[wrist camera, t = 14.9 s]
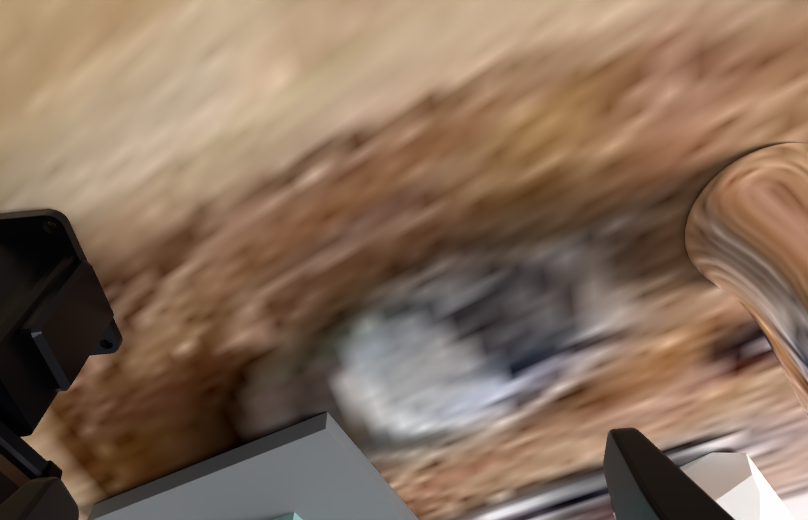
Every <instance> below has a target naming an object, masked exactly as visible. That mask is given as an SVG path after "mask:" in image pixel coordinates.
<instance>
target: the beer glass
mask: <svg viewBox="0 0 808 520" xmlns="http://www.w3.org/2000/svg"><path fill="white" fill-rule="evenodd" d="M685 245H686V250H687V253H688V255H689V258H690V260H691V262H692V263H693V265H694V266H695V267H696V268H697V269H698V271H699V272H700V273H701V274H702V275H704V276H705V277H706V278H707V279H708V280H710V281H711V282H712V283H714V284H715V285H716V286H718V287H719V288H721V289H722V290H723V291H725V292H726V293H727V294H729V295H730V296H732V297H733V298H734V299H735V300H736V301H738V302H739V303H740V304H741V305H742V306H743V307H744V308H745V309H746V310H747V311H748V313H749V314H750V315H751V316H752V318H753V319H754V320H755V322H756V323H757V325H758V326H759V327H760V329H761V330H762V332H763V334H764V336H765V338H766V339H767V341H768V343H769V345H770V346H771V348H772V350H773V352H774V354H775V356H776V358H777V360H778V362H779V364H780V366H781V368H782V370H783V372H784V374H785V375H786V377H787V379H788V381H789V383H790V385H791V387H792V389H793V391H794V393H795V395H796V397H797V398H798V400H799V402H800V404H801V406H802V408H803V410H804V412H805V414H806V415H807V417H808V144H807V143H783V144H777V145H772V146H768V147H765V148H762V149H759V150H756V151H754V152H751V153H749V154H747V155H745V156H743V157H741V158H740V159H738V160H736V161H735V162H733V163H732V164H730V165H729V166H727V167H726V168H725V169H723V170H722V171H721V172H720V173H719V174H717V175H716V176H715V177H714V178H713V179H712V180H711V181H710V182H709V183H708V184H707V186H706V187H705V188H704V189H703V191H702V192H701V193H700V195H699V196H698V198H697V199H696V201H695V203H694V204H693V206H692V208H691V211H690V213H689V216H688V219H687V222H686V227H685Z"/></svg>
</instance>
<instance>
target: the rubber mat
mask: <svg viewBox="0 0 808 520" xmlns="http://www.w3.org/2000/svg"><path fill="white" fill-rule="evenodd" d="M292 512H295V513H296V514H297V515H298V516H299V517H300V518H301V519H302V520H419V519H418V518H417V517H416V516H415V514H414V513H413V512H412V511H411V510H410V509H409V507H408V506H407V505H406V504H405V503H404V502H403V500H402V499H401V498H400V497H399V496H398V494H397V493H396V492H395V491H394V490H393V489H392V487H391V486H390V485H389V484H388V483H387V482H386V480H385V479H384V478H383V477H382V476H381V474H380V473H379V472H378V471H377V470H376V469H375V467H374V466H373V465H372V464H371V463H370V462H369V460H368V459H367V458H366V457H365V456H364V454H363V453H362V452H361V451H360V450H359V449H358V447H357V446H356V445H355V444H354V443H353V442H352V440H351V439H350V438H349V437H348V436H347V434H346V433H345V432H344V431H343V430H342V429H341V427H340V426H339V425H338V424H337V423H336V422H335V420H334V419H333V418H332V417H331V416H330V414H329V413H328V412H326V413H324V414H321V415H319V416H316V417H314V418H311V419H309V420H306V421H303V422H301V423H298V424H296V425H293V426H291V427H288V428H286V429H283V430H281V431H278V432H276V433H273V434H271V435H268V436H266V437H263V438H261V439H258V440H256V441H253V442H251V443H248V444H246V445H243V446H241V447H238V448H236V449H233V450H231V451H228V452H226V453H223V454H220V455H218V456H215V457H213V458H210V459H208V460H205V461H203V462H200V463H198V464H195V465H193V466H190V467H188V468H185V469H183V470H180V471H178V472H175V473H173V474H170V475H168V476H165V477H163V478H160V479H158V480H155V481H153V482H150V483H148V484H145V485H143V486H140V487H137V488H135V489H132V490H130V491H127V492H125V493H122V494H120V495H117V496H115V497H112V498H110V499H107V500H105V501H102V502H100V503H97V504H95V505H94V507H93V510H92V512H91V514H90V516H89V518H88V520H273V519H276V518H279V517H281V516H284V515H287V514H290V513H292Z"/></svg>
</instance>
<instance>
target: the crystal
mask: <svg viewBox="0 0 808 520" xmlns="http://www.w3.org/2000/svg"><path fill="white" fill-rule="evenodd" d="M679 468H680V469H681V470H682V471H683V472H684V473H685V474H686V475H687V476H688V477H690V478H691V479H692V480H693V481H694V482H695V483H696V484H697V485H698V486H699V487H700V488H701V489H703V490H704V491H705V492H706V493H707V494H708V495H709V496H710V497H711V498H712V499H713V500H715V501H716V502H717V503H718V504H719V505H720V506H721V507H722V508H723V509H724V510H725V511H726V512H728V513H729V514H730V515H731V516H732V517H733V518H734V519H735V520H795V519H794V517H793V516H792V514H791V513H790V512H789V510H788V509H787V508H786V506H785V505H784V504H783V502H782V501H781V500H780V498H779V497H778V496H777V494H776V493H775V492H774V490H773V489H772V487H771V486H770V485H769V483H768V482H767V481H766V479H765V478H764V477H763V475H762V474H761V473H760V471H759V470H758V469H757V467H756V466H755V465H754V463H753V462H752V460H751V459H750V458H749V456H748V455H747V454H746V453H715V452H712V453H709V454H707V455H705V456H703V457H700V458H698V459H696V460H694V461H692V462H690V463H688V464H685V465H683V466H681V467H679ZM613 515H614V517H615V519H616V516H615V512H614V513H613Z"/></svg>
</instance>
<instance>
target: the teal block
mask: <svg viewBox="0 0 808 520" xmlns="http://www.w3.org/2000/svg"><path fill="white" fill-rule="evenodd" d="M273 520H302V519H301V518H300V517H299V516H298V515H297V514H296V513H295V512H292V513H290V514H287V515H284V516H281V517H279V518H276V519H273Z"/></svg>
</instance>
